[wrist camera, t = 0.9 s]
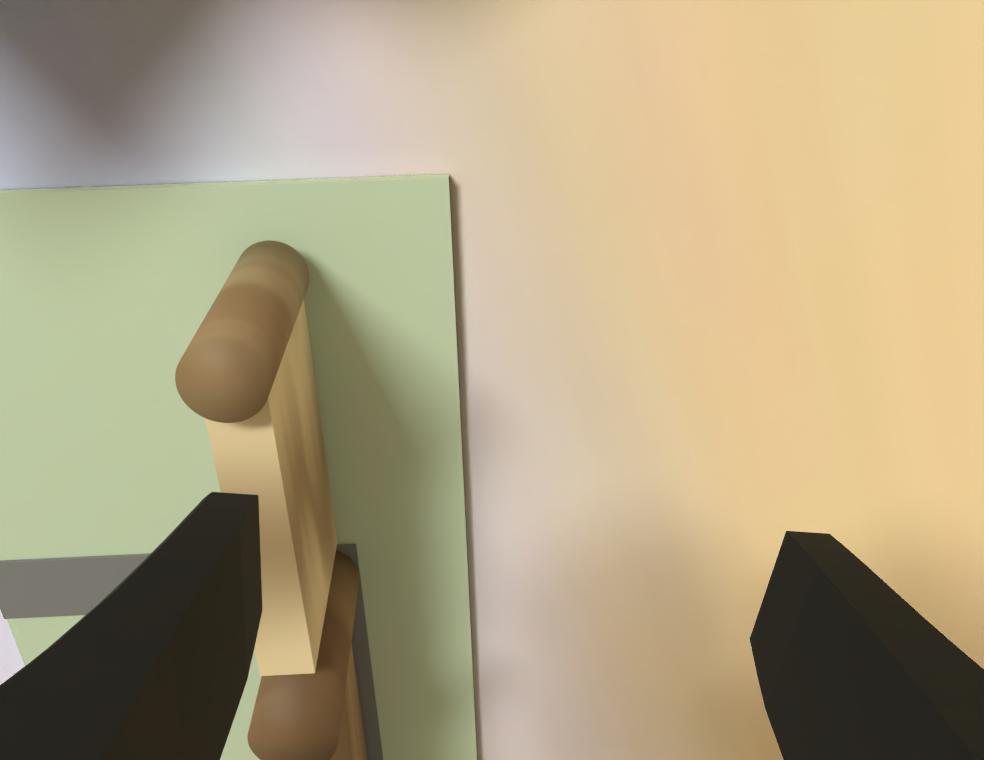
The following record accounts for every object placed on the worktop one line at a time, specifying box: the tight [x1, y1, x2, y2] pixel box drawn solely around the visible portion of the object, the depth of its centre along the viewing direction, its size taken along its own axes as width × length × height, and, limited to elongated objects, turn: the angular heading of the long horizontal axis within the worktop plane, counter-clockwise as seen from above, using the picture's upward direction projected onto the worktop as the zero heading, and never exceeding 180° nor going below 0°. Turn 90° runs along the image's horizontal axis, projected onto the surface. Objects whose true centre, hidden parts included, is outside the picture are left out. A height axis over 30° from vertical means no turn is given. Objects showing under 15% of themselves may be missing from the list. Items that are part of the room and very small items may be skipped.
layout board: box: [0, 174, 477, 760], centre depth 24 cm, size 13×22×1 cm, turn 1°
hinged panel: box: [175, 240, 337, 676], centre depth 19 cm, size 8×2×5 cm, turn 1°
